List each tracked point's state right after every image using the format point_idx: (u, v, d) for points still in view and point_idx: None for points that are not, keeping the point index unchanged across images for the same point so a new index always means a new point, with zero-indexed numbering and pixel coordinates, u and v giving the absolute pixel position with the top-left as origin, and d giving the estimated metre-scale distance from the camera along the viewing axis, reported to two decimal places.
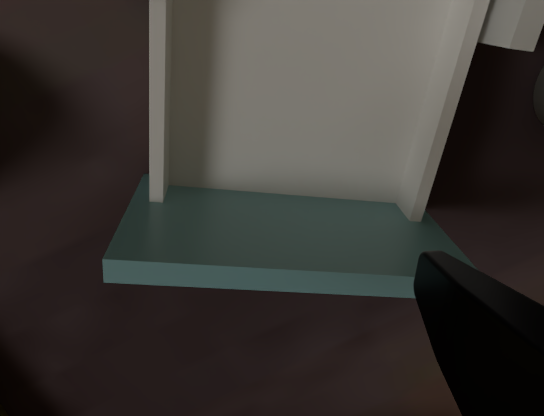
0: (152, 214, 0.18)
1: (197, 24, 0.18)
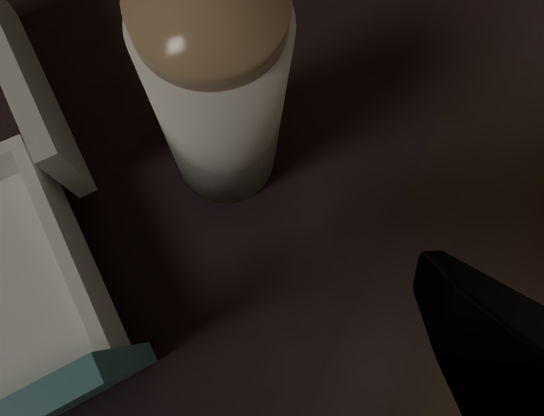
0: None
1: None
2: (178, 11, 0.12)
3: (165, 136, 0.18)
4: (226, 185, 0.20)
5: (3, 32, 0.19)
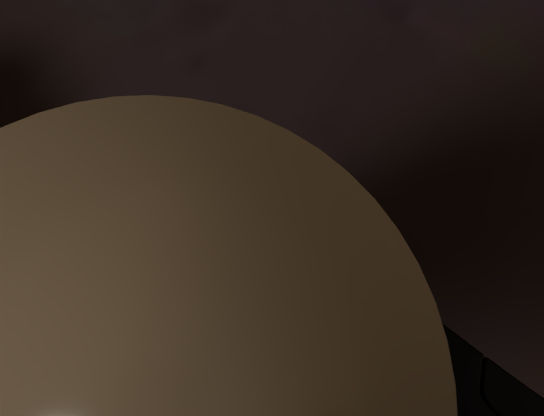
0: None
1: None
2: None
3: None
4: None
5: None
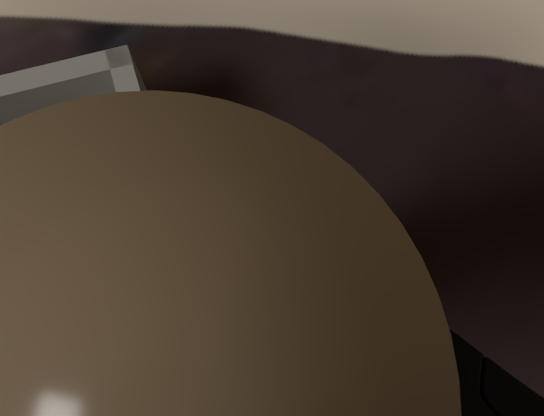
0: None
1: None
2: None
3: None
4: None
5: None
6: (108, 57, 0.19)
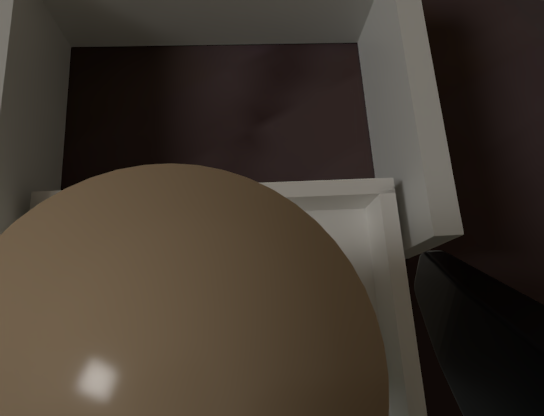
0: None
1: None
2: None
3: None
4: None
5: (431, 60, 0.16)
6: None
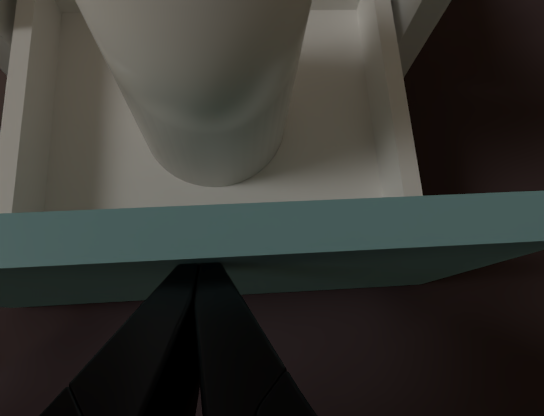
0: None
1: (85, 71, 0.16)
2: None
3: (104, 58, 0.10)
4: (214, 153, 0.12)
5: None
6: None
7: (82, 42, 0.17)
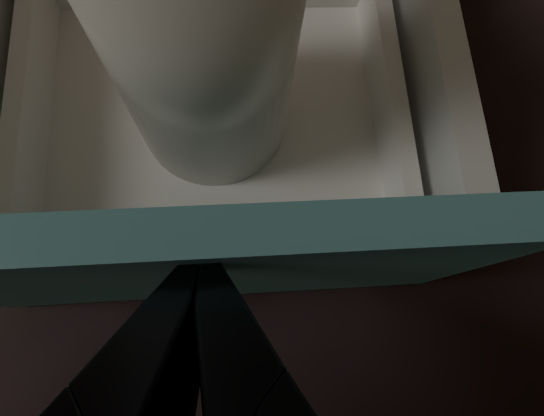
0: None
1: (84, 69, 0.16)
2: None
3: None
4: (212, 152, 0.12)
5: (461, 18, 0.14)
6: None
7: (81, 39, 0.17)
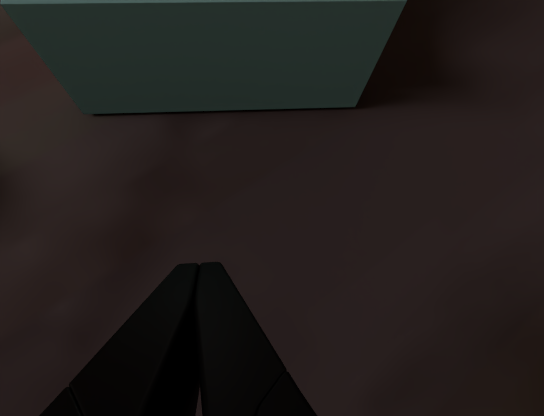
0: None
1: None
2: None
3: None
4: None
5: None
6: None
7: None
